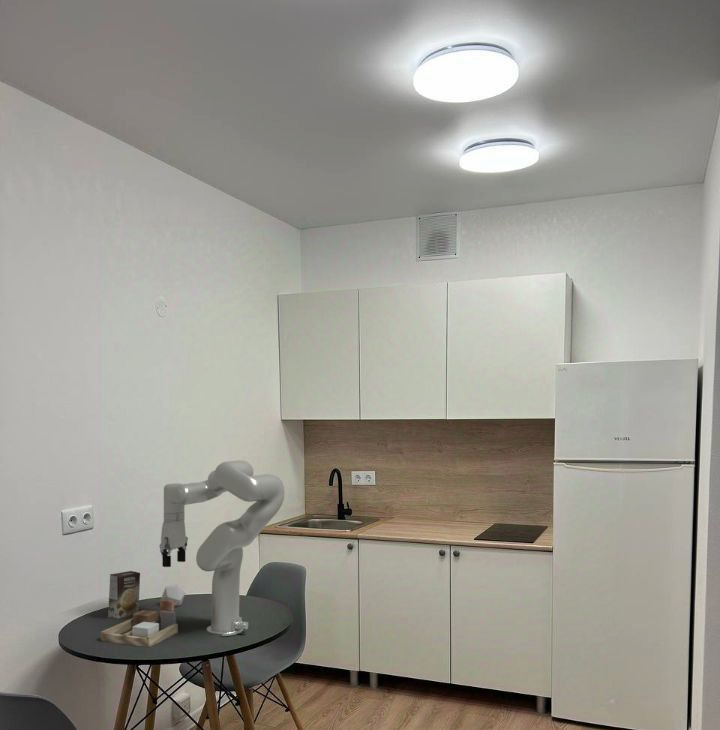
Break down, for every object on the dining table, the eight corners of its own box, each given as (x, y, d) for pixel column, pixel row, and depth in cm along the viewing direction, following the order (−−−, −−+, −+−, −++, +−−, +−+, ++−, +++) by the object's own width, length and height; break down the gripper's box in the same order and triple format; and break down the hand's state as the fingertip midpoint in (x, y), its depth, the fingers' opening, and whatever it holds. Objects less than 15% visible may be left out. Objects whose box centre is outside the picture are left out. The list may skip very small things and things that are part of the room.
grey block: (176, 629, 241) (177, 612, 241) (147, 644, 225) (148, 625, 225) (162, 627, 243) (162, 610, 243) (132, 642, 227) (132, 623, 227)
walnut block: (175, 617, 255) (175, 601, 255) (147, 630, 239) (147, 613, 240) (161, 616, 257) (161, 599, 257) (132, 629, 241) (133, 611, 242)
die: (184, 609, 272) (191, 586, 278) (165, 601, 268) (173, 577, 274) (173, 613, 277) (180, 590, 283) (154, 605, 273) (162, 582, 279)
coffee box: (117, 621, 253) (118, 576, 255) (107, 618, 257) (109, 574, 259) (139, 616, 261) (140, 572, 262) (129, 613, 265) (130, 570, 266)
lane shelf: (188, 629, 244) (189, 618, 244) (148, 650, 222) (149, 637, 223) (143, 624, 250) (144, 613, 250) (100, 644, 229) (100, 631, 229)
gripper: (178, 514, 268) (178, 559, 266) (151, 520, 252) (151, 568, 250) (195, 514, 266) (195, 560, 264) (169, 520, 249) (169, 569, 248)
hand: (174, 564), depth 257 cm, fingers open, 9 cm apart
